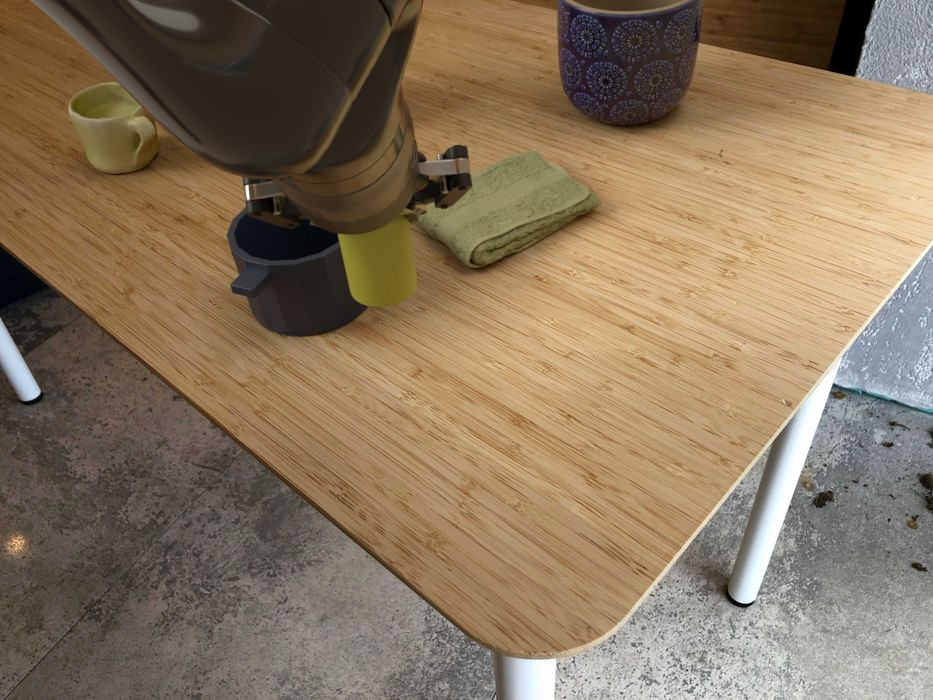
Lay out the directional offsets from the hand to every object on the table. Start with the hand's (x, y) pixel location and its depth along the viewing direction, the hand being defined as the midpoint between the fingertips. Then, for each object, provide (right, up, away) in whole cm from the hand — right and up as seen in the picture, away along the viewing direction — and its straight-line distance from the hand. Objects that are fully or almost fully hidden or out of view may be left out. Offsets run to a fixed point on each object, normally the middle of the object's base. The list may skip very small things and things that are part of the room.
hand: (372, 212), depth 60 cm
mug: (-35, +14, +47) cm, 60 cm away
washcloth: (+11, +4, +31) cm, 33 cm away
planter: (+26, +21, +46) cm, 57 cm away
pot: (-8, -4, +24) cm, 26 cm away
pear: (+1, -5, +2) cm, 6 cm away
